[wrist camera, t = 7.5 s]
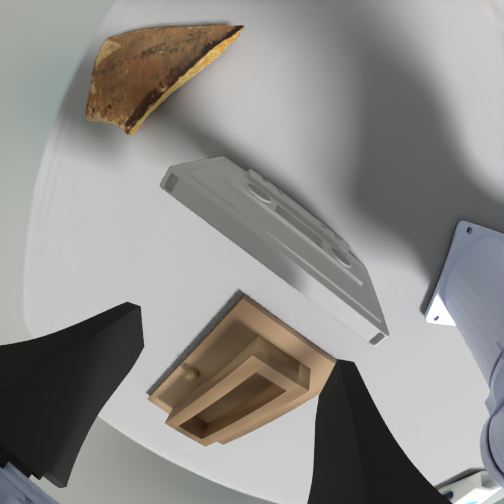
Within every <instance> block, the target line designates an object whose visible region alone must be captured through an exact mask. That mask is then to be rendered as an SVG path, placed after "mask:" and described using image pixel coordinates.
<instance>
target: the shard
mask: <svg viewBox="0 0 504 504" xmlns="http://www.w3.org/2000/svg"><path fill="white" fill-rule="evenodd" d="M243 29H244V26H243V25H240V26H236V25H235V26H226V25H212V26H205V27H199V26H198V27H164V28H150V29H144V30H141V31H133V32H129V33H125V34H123V35H121V36H118V37H112V38H108V39H107V40H106V41H105V42H104V44H103V46H102V48H101V50H100V52H99V54H98V56H97V59H96V61H95V64H94V69H93V73H92V81H91V84H90V90H89V97H88V102H87V106H86V114H85V115H86V118H87V120H88V121H98V122H107V123H111V124H113V125H116V126H118V127H121V128H123V130H124V131H125V132H126V133H127V134H128V135H133V134H134V133H135V132H136V131H137V130H138V129H139V128H140V126H141V125H142V123H143V121H144V120H145V119H146V118H147V117H148V115H149V114H150V113H151V112H152V111H153V110H155V109H156V108H157V107H158V106H159V105H160V104H161V103H162V102H163V101H164V100H165V99H166V98H167V97H168V96H169V95H170V94H171V93H172V92H173V91H175V90H176V89H178V88H179V87H180V86H182V85H183V84H184V83H186V82H187V81H188V80H190V79H191V78H192V77H194V76H195V75H196V74H198V73H199V72H200V71H201V70H202V69H204V68H205V67H206V66H207V65H209V64H210V63H211V62H213V61H214V60H215V59H216V58H217V57H218V56H219V55H221V54H222V53H223V52H224V51H225V49H226V48H227V47H228V46H229V45H230V44H231V43H232V42H234V41H235V40H236V39H237V38H238V37H239V35H240V31H242V30H243Z"/></svg>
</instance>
